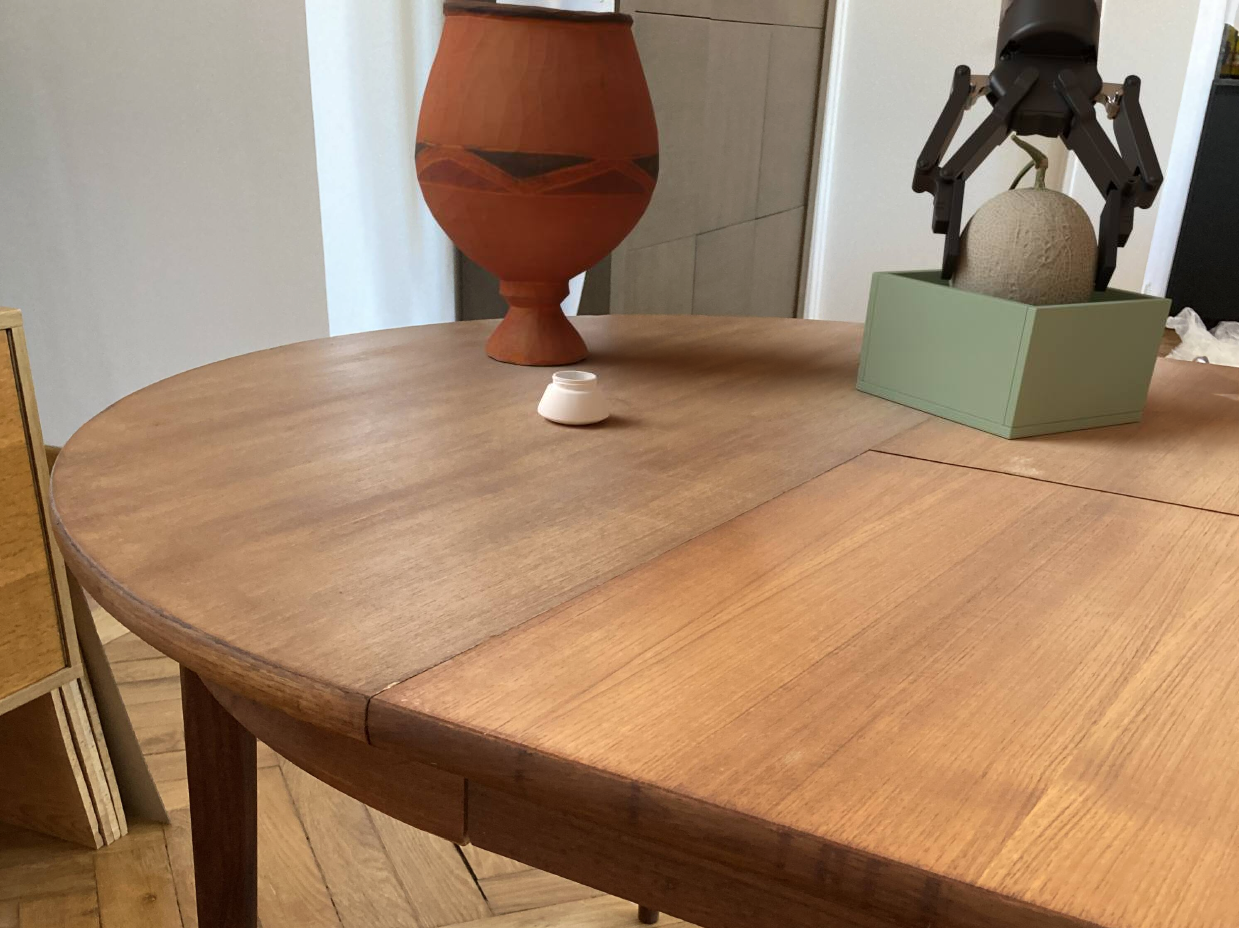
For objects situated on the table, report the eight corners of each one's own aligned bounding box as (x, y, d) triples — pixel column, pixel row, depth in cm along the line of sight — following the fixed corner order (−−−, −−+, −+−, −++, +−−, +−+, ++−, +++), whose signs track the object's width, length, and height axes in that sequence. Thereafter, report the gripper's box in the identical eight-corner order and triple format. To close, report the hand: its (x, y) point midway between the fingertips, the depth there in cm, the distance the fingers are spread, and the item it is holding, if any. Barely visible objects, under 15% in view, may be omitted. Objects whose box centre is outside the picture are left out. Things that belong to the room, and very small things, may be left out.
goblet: (395, 370, 99) (379, -8, 86) (450, 327, 115) (444, 4, 102) (635, 388, 98) (656, 6, 84) (656, 342, 114) (676, 16, 101)
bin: (1140, 421, 97) (1172, 299, 92) (1009, 439, 90) (1036, 308, 85) (982, 376, 108) (1003, 266, 104) (855, 389, 101) (872, 271, 97)
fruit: (1042, 341, 102) (1087, 132, 94) (1097, 372, 92) (1153, 142, 85) (917, 336, 101) (953, 124, 93) (960, 367, 92) (1004, 133, 84)
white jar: (577, 407, 91) (523, 415, 88) (578, 365, 90) (524, 372, 87) (623, 421, 88) (569, 431, 85) (625, 378, 87) (570, 386, 84)
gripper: (1185, 74, 99) (1171, 318, 94) (891, 58, 101) (862, 294, 96) (1222, -10, 91) (1209, 250, 86) (904, -26, 94) (874, 225, 89)
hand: (1026, 273), depth 91 cm, fingers closed on fruit, 10 cm apart
